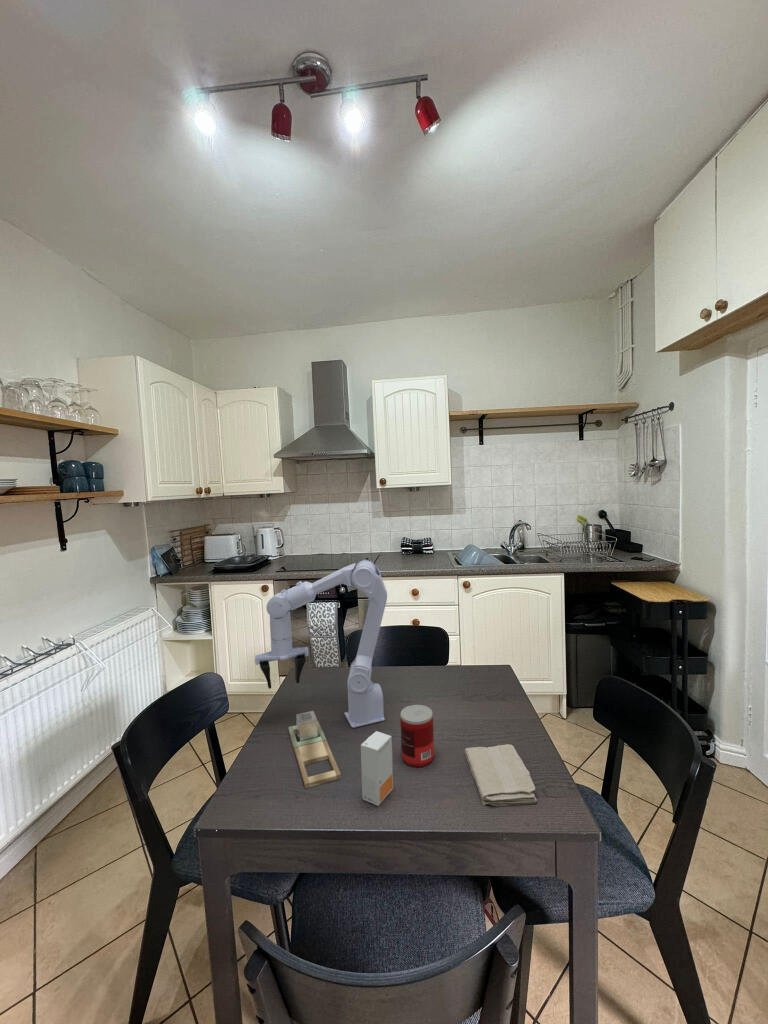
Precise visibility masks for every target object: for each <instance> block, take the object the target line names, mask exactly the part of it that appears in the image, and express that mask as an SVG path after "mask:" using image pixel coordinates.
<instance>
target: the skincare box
mask: <svg viewBox="0 0 768 1024" xmlns="http://www.w3.org/2000/svg"><path fill="white" fill-rule="evenodd" d="M392 739H393V738H392V735H389V734H386V733H384V732H380V731H377V730H375V731H374V733H372V734H371V735H369V736H368V737H367V739H365V740H364V741H363V742H362V743H361V744H360V761H361V762H360V764H361V765H360V766H361V771H360V772H361V793H362V794H361V795H362V797H361V798H362V800H364V801H365V802H367V803H370V804H373V805H375V806H377V807H380V805H381V804H382V802H384V800H385V799H386V798H387V797H388V795H389V794H391V792H392V791H394V779H393V778H394V775H393V772H394V771H393V741H392Z"/></svg>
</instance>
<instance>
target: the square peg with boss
mask: <svg viewBox="0 0 768 1024" xmlns="http://www.w3.org/2000/svg"><path fill="white" fill-rule="evenodd" d="M295 718H296V725H297V734H296V736H297V737H296V738H297V739H298V740H297V741H298V742H300V741H304V740H309V739H313V738H317V737H319V735H318V733H317V721H318V718H317V716H316V714H315V711H314V710H311V711H310V710H309V711H307V712H301V713H298V714H297V713H296V715H295Z"/></svg>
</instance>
